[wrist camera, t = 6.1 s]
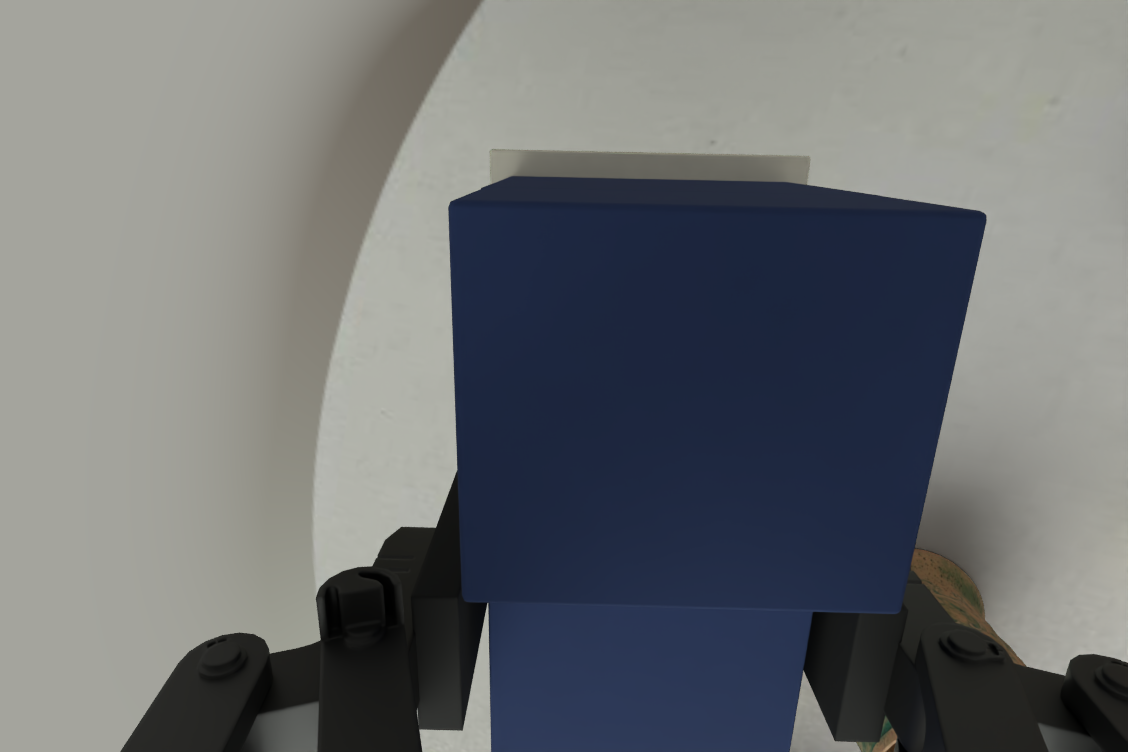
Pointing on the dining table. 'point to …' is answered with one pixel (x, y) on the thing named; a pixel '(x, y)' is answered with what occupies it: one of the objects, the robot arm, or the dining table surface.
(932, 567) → the mug
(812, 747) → the dining table surface
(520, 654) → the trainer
